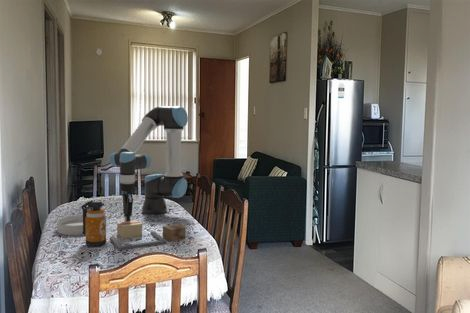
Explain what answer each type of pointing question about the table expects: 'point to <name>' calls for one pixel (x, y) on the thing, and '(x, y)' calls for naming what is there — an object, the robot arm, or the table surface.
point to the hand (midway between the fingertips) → (127, 228)
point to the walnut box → (174, 232)
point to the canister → (94, 223)
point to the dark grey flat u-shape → (157, 236)
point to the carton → (129, 229)
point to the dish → (70, 225)
